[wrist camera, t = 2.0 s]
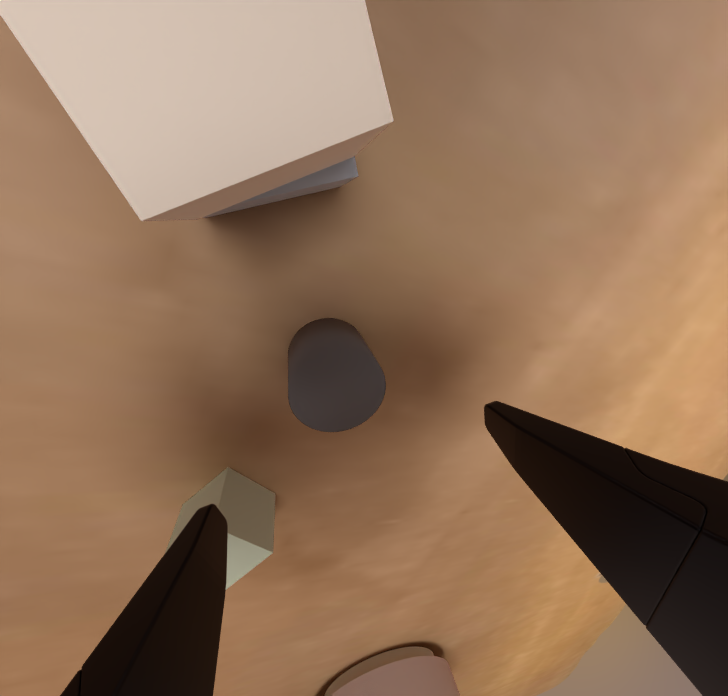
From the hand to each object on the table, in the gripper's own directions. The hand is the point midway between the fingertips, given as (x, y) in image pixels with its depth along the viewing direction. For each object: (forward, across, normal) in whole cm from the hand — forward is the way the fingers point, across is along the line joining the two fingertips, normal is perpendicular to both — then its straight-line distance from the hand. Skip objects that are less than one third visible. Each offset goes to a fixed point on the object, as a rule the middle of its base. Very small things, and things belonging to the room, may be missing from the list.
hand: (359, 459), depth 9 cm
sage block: (+8, +9, +8) cm, 15 cm away
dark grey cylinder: (+8, 0, 0) cm, 8 cm away
